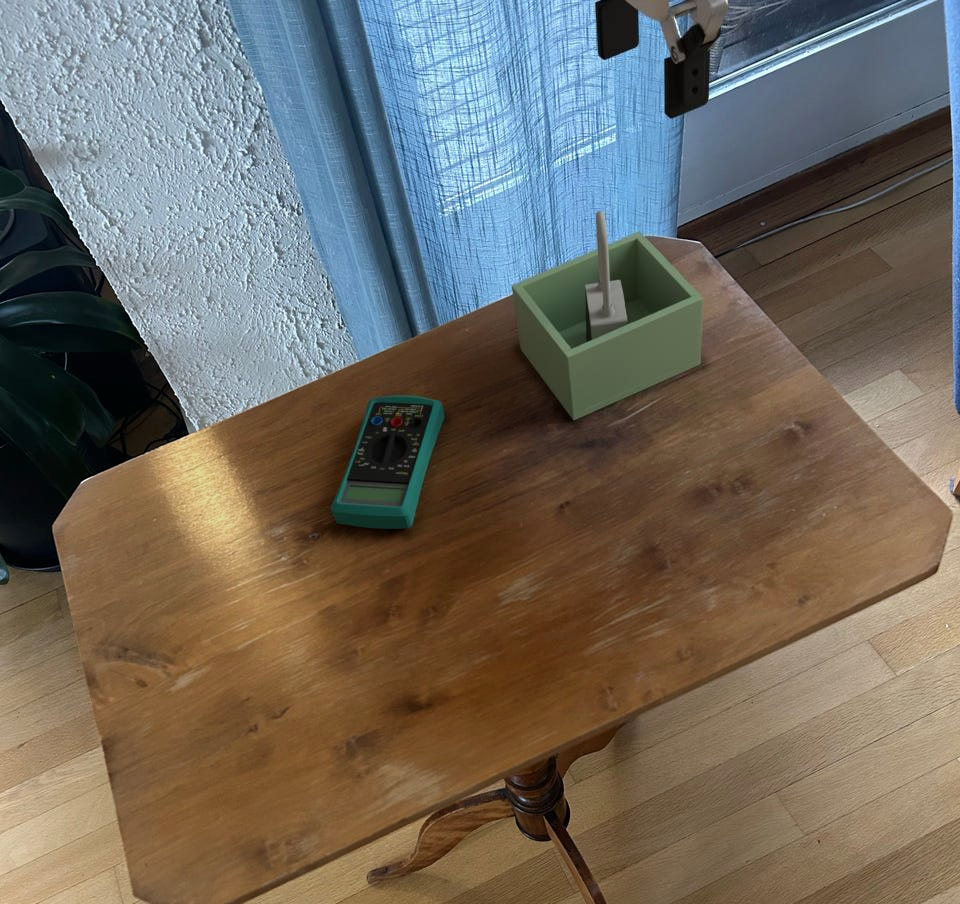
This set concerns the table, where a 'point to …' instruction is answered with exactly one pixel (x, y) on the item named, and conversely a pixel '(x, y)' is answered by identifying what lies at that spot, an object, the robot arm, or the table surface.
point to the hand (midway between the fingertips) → (651, 80)
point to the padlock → (603, 292)
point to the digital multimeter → (389, 462)
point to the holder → (623, 352)
